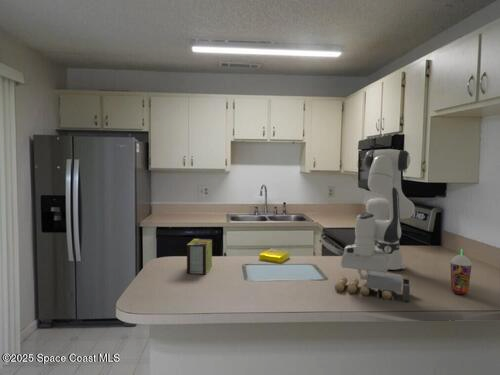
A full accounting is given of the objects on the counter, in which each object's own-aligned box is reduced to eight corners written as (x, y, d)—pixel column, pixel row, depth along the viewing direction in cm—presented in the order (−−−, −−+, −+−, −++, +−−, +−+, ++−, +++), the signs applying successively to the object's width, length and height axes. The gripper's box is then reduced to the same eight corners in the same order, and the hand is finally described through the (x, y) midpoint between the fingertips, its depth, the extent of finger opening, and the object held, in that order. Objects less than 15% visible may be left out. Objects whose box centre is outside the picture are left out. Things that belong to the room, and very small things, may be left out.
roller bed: (339, 283, 172) (339, 275, 172) (394, 291, 162) (394, 283, 162) (334, 291, 161) (334, 283, 161) (393, 300, 151) (393, 291, 151)
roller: (382, 288, 164) (385, 281, 163) (390, 292, 163) (393, 285, 162) (380, 297, 153) (383, 289, 152) (389, 301, 152) (392, 293, 151)
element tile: (258, 261, 212) (258, 253, 212) (268, 255, 226) (268, 248, 225) (281, 264, 205) (281, 256, 205) (290, 258, 219) (290, 251, 218)
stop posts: (402, 292, 160) (403, 277, 160) (408, 293, 159) (409, 278, 159) (402, 301, 150) (403, 285, 150) (409, 302, 149) (409, 286, 149)
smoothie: (459, 296, 157) (462, 251, 156) (444, 289, 165) (446, 247, 164) (474, 294, 159) (477, 250, 158) (459, 288, 167) (461, 246, 166)
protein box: (212, 266, 199) (212, 239, 198) (206, 274, 183) (206, 245, 182) (193, 265, 200) (193, 238, 199) (186, 273, 184) (186, 244, 183)
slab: (368, 279, 166) (369, 271, 166) (401, 283, 161) (401, 275, 161) (366, 287, 155) (366, 278, 155) (401, 292, 150) (401, 282, 150)
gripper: (389, 250, 159) (388, 280, 160) (343, 245, 168) (342, 274, 168) (388, 253, 154) (387, 284, 154) (340, 248, 162) (340, 278, 163)
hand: (363, 279), depth 161 cm, fingers closed
